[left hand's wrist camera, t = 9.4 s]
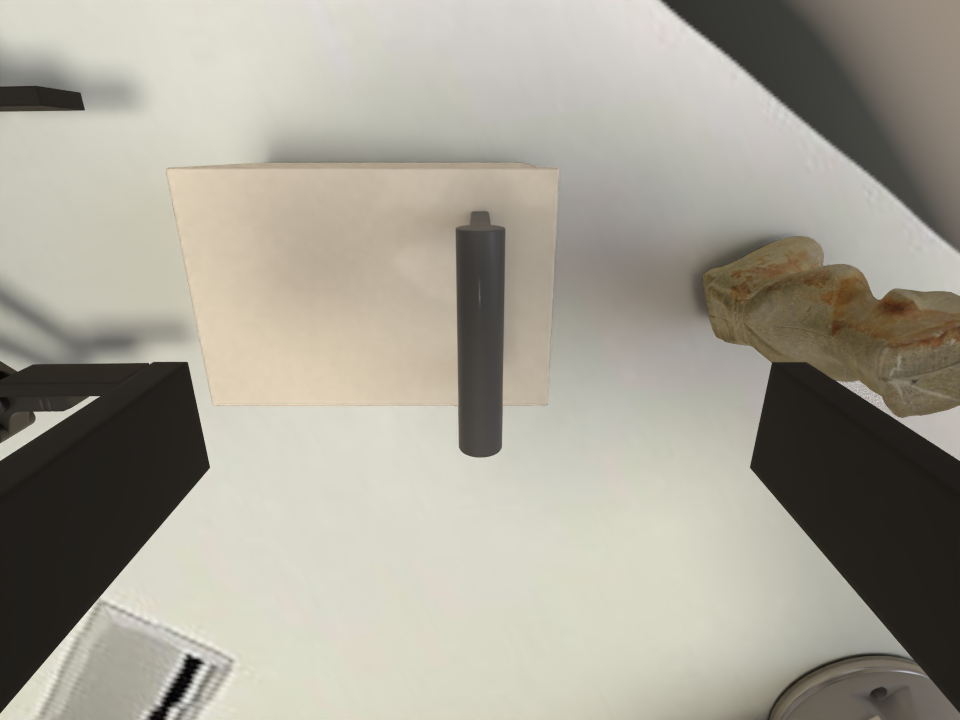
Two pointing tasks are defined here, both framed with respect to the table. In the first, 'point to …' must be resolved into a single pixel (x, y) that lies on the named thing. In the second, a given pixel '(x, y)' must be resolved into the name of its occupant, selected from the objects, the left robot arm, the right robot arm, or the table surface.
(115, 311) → the table surface
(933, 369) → the sculpture
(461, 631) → the table surface
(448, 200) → the lid
